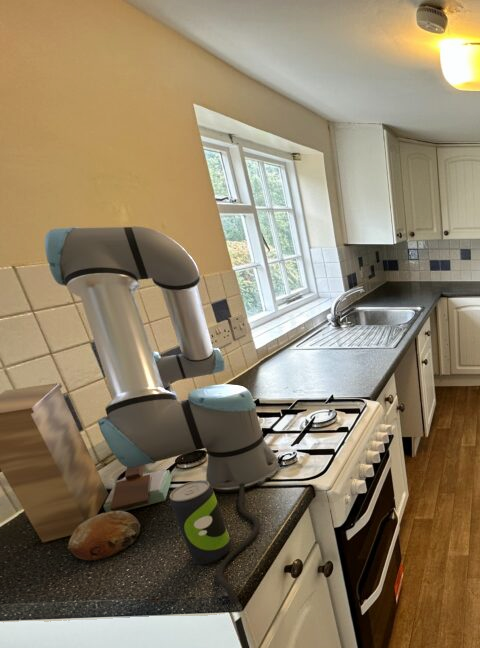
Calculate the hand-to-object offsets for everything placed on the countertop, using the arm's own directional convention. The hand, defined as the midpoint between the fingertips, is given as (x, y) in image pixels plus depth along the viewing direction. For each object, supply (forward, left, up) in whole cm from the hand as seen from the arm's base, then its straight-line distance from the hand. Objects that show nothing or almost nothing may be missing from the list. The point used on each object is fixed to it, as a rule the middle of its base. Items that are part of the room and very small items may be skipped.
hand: (133, 456), depth 96 cm
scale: (-4, +2, -8) cm, 9 cm away
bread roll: (-19, +9, -8) cm, 22 cm away
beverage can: (-38, -3, -8) cm, 39 cm away
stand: (-3, +12, -8) cm, 15 cm away
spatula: (-2, +1, -3) cm, 4 cm away
